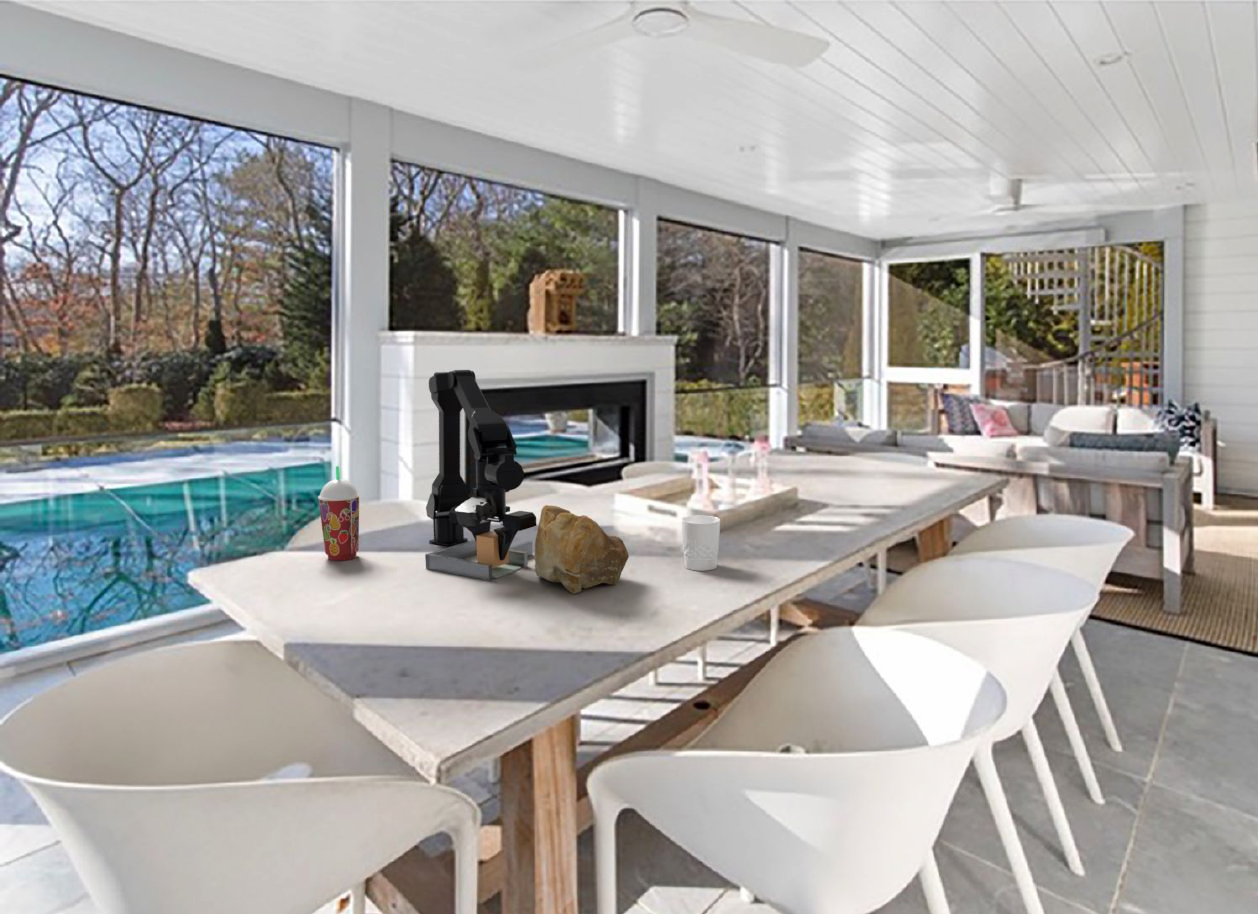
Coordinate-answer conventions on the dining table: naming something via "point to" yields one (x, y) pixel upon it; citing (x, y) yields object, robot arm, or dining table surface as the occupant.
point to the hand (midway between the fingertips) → (493, 558)
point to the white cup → (700, 542)
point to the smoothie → (340, 518)
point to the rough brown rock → (576, 551)
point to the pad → (503, 570)
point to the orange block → (489, 549)
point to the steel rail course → (454, 564)
